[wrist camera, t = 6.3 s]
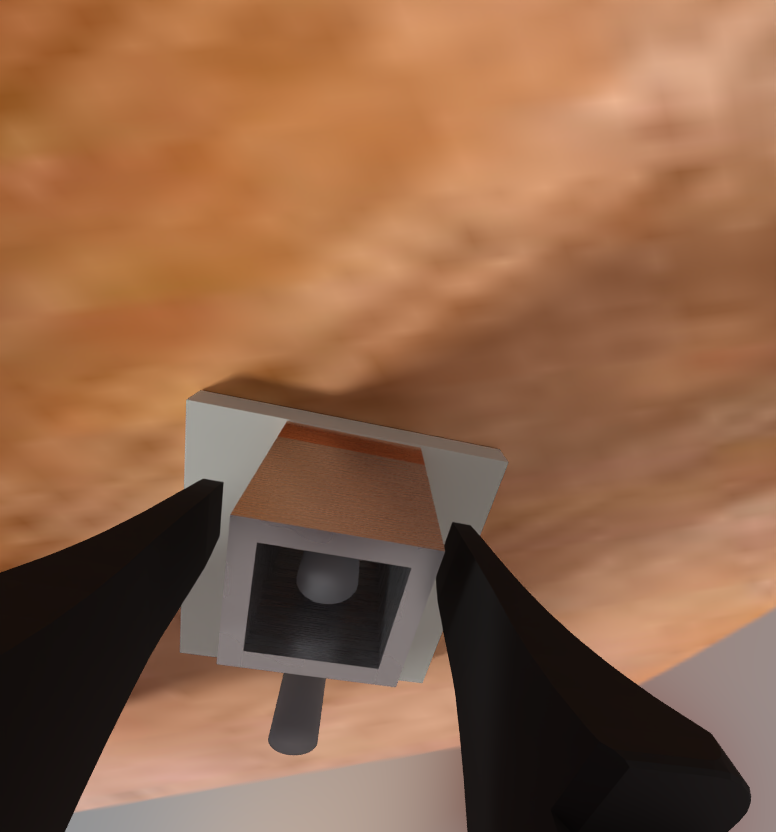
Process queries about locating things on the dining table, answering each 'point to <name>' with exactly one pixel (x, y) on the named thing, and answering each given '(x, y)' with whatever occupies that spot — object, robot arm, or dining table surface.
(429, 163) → the dining table surface
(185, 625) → the pin board
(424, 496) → the sleeve
